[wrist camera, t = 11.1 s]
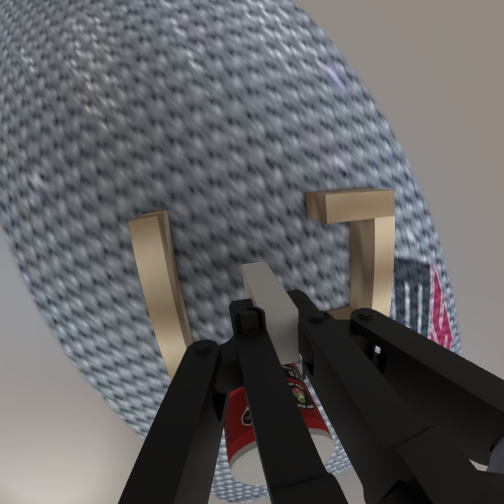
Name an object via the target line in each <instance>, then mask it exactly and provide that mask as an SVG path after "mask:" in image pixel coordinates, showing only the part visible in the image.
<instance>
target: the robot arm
mask: <svg viewBox="0 0 504 504" xmlns="http://www.w3.org/2000/svg"><path fill="white" fill-rule="evenodd" d="M241 266H242V274H243V282H244V290H245V298H246V299H243V300H236V301H232V302H231V304H230V305H229V310H230V316H231V322H232V328H233V334H234V335H233V337H232V338H231V339H230V340H229V341H227V342H226V343H223V344H221V345H218V344H217V343H216V342H214V341H212V340H200V341H197V342H194V343H192V344H191V345H189V346H188V348H187V349H186V351H185V353H184V355H183V357H182V360H181V362H180V364H179V366H178V368H177V370H176V373H175V375H174V377H173V379H172V381H171V383H170V386H169V388H168V390H167V392H166V394H165V397H164V399H163V401H162V403H161V406H160V408H159V410H158V412H157V414H156V417H155V419H154V421H153V423H152V426H151V428H150V430H149V432H148V435H147V437H146V439H145V441H144V444H143V446H142V448H141V451H140V453H139V455H138V458H137V460H136V462H135V464H134V467H133V469H132V472H131V474H130V476H129V479H128V481H127V483H126V486H125V488H124V490H123V493H122V495H121V498H120V500H119V503H118V504H208V500H209V495H210V490H211V486H212V481H213V476H214V471H215V466H216V462H217V457H218V452H219V447H220V442H221V437H222V432H223V427H224V423H225V418H226V413H227V408H228V403H229V398H230V392H231V391H234V390H236V389H238V388H241V387H243V386H244V390H245V395H246V399H247V404H248V408H249V413H250V417H251V422H252V426H253V431H254V435H255V439H256V444H257V448H258V452H259V456H260V460H261V464H262V468H263V472H264V476H265V480H266V484H267V488H268V492H269V496H270V499H271V503H272V504H348V502H347V500H346V498H345V496H344V494H343V491H342V489H341V487H340V485H339V483H338V481H337V479H336V478H335V477H334V475H333V474H330V473H328V472H327V471H326V469H325V467H324V465H323V462H322V460H321V458H320V455H319V453H318V451H317V449H316V446H315V444H314V442H313V439H312V437H311V435H310V432H309V430H308V428H307V425H306V423H305V420H304V418H303V416H302V413H301V411H300V409H299V406H298V404H297V402H296V399H295V397H294V394H293V392H292V390H291V387H290V385H289V382H288V380H287V378H286V375H285V373H284V370H283V368H282V365H285V364H289V363H294V362H298V361H299V352H300V354H301V356H302V377H303V380H305V375H307V377H308V379H309V381H310V383H311V385H312V387H313V389H314V391H315V393H316V395H317V397H318V399H319V401H320V403H321V405H322V407H323V409H324V411H325V413H326V415H327V416H328V418H329V420H330V422H331V424H332V426H333V428H334V430H335V432H336V434H337V436H338V438H339V440H340V442H341V444H342V446H343V448H344V450H345V452H346V454H347V456H348V458H349V460H350V462H351V464H352V466H353V468H354V470H355V471H356V473H357V475H358V477H359V479H360V481H361V483H362V485H363V491H364V492H363V493H364V500H365V503H366V504H504V380H502V379H501V378H499V377H497V376H495V375H493V374H491V373H490V372H488V371H486V370H484V369H483V368H481V367H479V366H477V365H475V364H474V363H472V362H470V361H468V360H466V359H465V358H463V357H461V356H459V355H457V354H455V353H454V352H452V351H450V350H448V349H446V348H444V347H443V346H441V345H439V344H437V343H435V342H434V341H432V340H430V339H428V338H426V337H424V336H422V335H421V334H419V333H417V332H415V331H413V330H411V329H410V328H408V327H406V326H404V325H402V324H400V323H399V322H397V321H395V320H393V319H391V318H389V317H387V316H386V315H384V314H382V313H380V312H378V311H376V310H374V309H371V308H359V309H355V310H354V311H352V313H351V315H350V319H342V320H336V319H335V318H334V317H333V316H332V315H331V314H330V313H328V312H325V311H319V310H318V308H317V307H316V306H315V305H314V304H313V302H312V301H311V300H310V299H309V298H308V296H307V295H306V294H305V293H304V292H302V291H300V290H298V289H296V290H291V291H285V290H284V288H283V287H282V285H281V284H280V282H279V281H278V279H277V278H276V276H275V275H274V273H273V272H272V270H271V269H270V267H269V266H268V264H267V263H266V261H262V262H255V263H248V264H242V265H241ZM376 346H378V347H379V348H381V351H380V354H378V353H376V352H375V348H376ZM469 459H470V460H472V461H474V462H477V463H479V464H482V465H486V466H488V468H487V470H486V471H480V470H477V469H476V468H475V467H474V465H473V464H472V463H471V462H470V460H469Z"/></svg>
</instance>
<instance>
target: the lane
mask: <svg viewBox="0 0 504 504" xmlns="http://www.w3.org/2000/svg"><path fill="white" fill-rule="evenodd" d="M305 196H306V208H307V217H310V218H312V219H315V220H318V221H321V222H323V223H326V224H330V223H338V222H347V221H350V248H351V275H350V306H346V307H342V308H337V309H333V310H329V311H325V312H328V313H330V314H331V315H332V316H333V317H334V318H335V319H336V320H342V319H350V315H351V313H352V311H354V310H355V309H359V308H371V309H374V310H376V311H378V312H380V313H382V314H384V315H386V316H387V317H389V313H390V304H391V294H392V282H393V268H394V243H395V207H394V190H386V189H375V188H356V189H341V190H327V191H315V192H305ZM128 223H129V229H130V234H131V239H132V245H133V250H134V254H135V259H136V264H137V268H138V272H139V277H140V281H141V285H142V289H143V293H144V297H145V300H146V304H147V308H148V311H149V315H150V318H151V322H152V325H153V328H154V332H155V335H156V338H157V341H158V344H159V348H160V351H161V354H162V356H163V359H164V362H165V365H166V368H167V371H168V374H169V376H170V379H171V381H172V379H173V377H174V375H175V373H176V370H177V368H178V366H179V364H180V362H181V360H182V357H183V355H184V353H185V351H186V349H187V348H188V346H189V345H191V344H192V343H194V342H193V338H192V334H191V330H190V326H189V321H188V317H187V313H186V309H185V304H184V300H183V295H182V290H181V286H180V281H179V276H178V271H177V266H176V261H175V255H174V250H173V244H172V239H171V233H170V227H169V220H168V214H167V210H164V211H158V212H152V213H147V214H142V215H140V216H138V217H136V218H134V219H132V220H130V221H128Z"/></svg>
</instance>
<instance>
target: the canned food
mask: <svg viewBox="0 0 504 504" xmlns="http://www.w3.org/2000/svg"><path fill="white" fill-rule="evenodd" d="M282 368H283V370H284V373H285V375H286V378H287V380H288V382H289V385H290V387H291V390H292V392H293V394H294V397H295V399H296V402H297V404H298V406H299V409H300V411H301V413H302V416H303V418H304V420H305V423H306V425H307V428H308V430H309V432H310V435H311V437H312V439H313V442H314V444H315V446H316V449H317V451H318V453H319V455H320V458H321V460H322V462H323V464H324V463H326V462H327V461H328V459H329V458H330V457H331V456H332V454H333V452H334V449H335V445H334V442H333V438H332V436H331V434H330V432H329V430H328V427H327V425H326V423H325V422H324V420H323V418H322V416H321V414H320V412H319V410H318V408H317V406H316V404H315V402H314V400H313V398H312V396H311V394H310V392H309V390H308V388H307V386H306V384H305V382H304V380H303V378H302V376H301V374H300V372H299V370H298V368H297V366H296V365H295V363H289V364H285V365H282ZM224 431H225V440H226V448H227V456H228V461H229V467H230V470H231V474H232V476H233V477H234V478H235V479H236V480H238V481H240V482H242V483H245V484H250V485H259V486H264V485H267V484H266V480H265V476H264V472H263V468H262V464H261V460H260V456H259V452H258V448H257V444H256V439H255V435H254V431H253V426H252V422H251V417H250V413H249V408H248V404H247V399H246V395H245V390H244V386H243V387H241V388H238V389H236V390H234V391H231V392H230V398H229V403H228V408H227V413H226V418H225V423H224Z"/></svg>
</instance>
